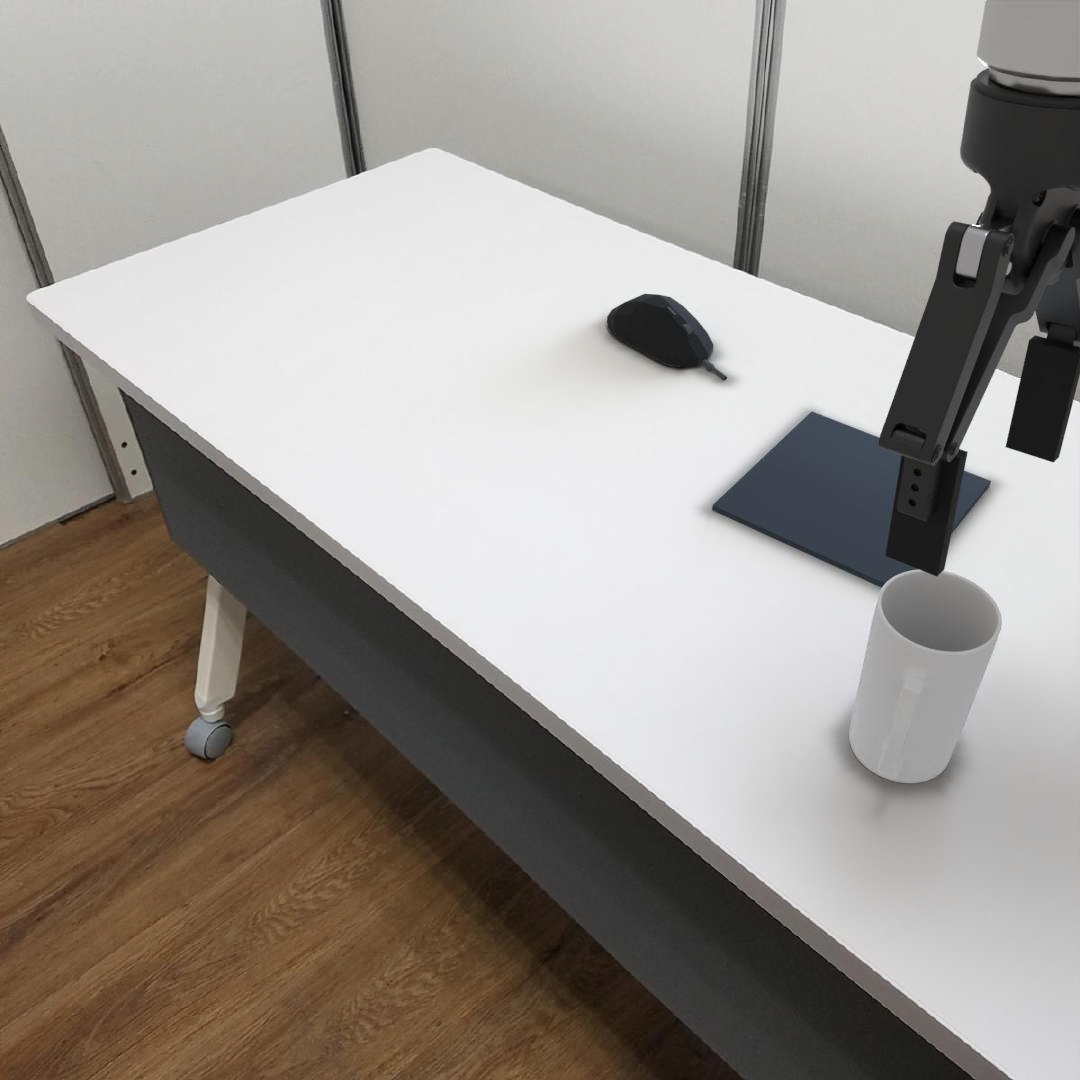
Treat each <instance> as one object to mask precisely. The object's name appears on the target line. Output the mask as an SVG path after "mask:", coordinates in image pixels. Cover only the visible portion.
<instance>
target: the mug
mask: <svg viewBox="0 0 1080 1080" xmlns="http://www.w3.org/2000/svg"><path fill="white" fill-rule="evenodd" d="M1002 624H1003V618H1002V613H1001V611H1000V608H999V606H998V604H997V602H996V601H995V600H994V597H992V596H991V595H990V593H988V591H986V590H985V589H984V588H983V587H981V586H980V585H979V584H977V583H975V581H973V580H970V579H969V578H967V577H964V576H962V575H960V574H957V573H954V572H952V571H951V572H950V571H946V570H943V571H942V572H941V573H940V574H939V575H938V576H934V575H932V574H929V573H927V572H924V571H922V570H911V571H907V572H904V573H901V574H898V575H896V576H894V577H893V578H891V579H890V580H888V581H887V582H886V583H885V584H884V586H883V587H880V590H879V593H878V596H877V600H876V604H875V608H874V612H873V616H872V620H871V625H870V629H869V634H868V639H867V642H866V643H867V644H866V648H865V652H864V658H863V663H862V667H861V672H860V677H859V681H858V686H857V690H856V694H855V699H854V703H853V709H852V715H851V720H850V724H849V730H848V741H849V744H850V747H851V750H852V752H853V754H854V755H855V757H856V759H857V760H858V761H859V762H860V763H861V764H862V765H863V766H864V767H865V768H867V769H868V771H870V772H872V773H874V774H875V775H877V776H879V777H881V778H883V779H884V780H885V779H886V780H889V781H891V782H894V783H895V782H896V783H902V784H919V783H924V782H928V781H930V780H933V779H935V778H936V777H938V776H939V775H941V774H942V773H943V772H944V770H945V769H946V768H947V766H948V764H949V763H950V760H951V758H952V757H953V754H954V751H955V749H956V747H957V745H958V742H959V739H960V737H961V734H962V731H963V729H964V726H965V724H966V721H967V719H968V716H969V714H970V711H971V708H972V705H973V703H974V700H975V698H976V696H977V693H978V691H979V688H980V686H981V683H982V682H983V678H984V675H985V673H986V672H987V671H986V670H987V668H988V665H989V663H990V660H991V658H992V655H993V652H994V650H995V648H996V644H997V641H998V639H999V635H1000V634H1001V630H1002V626H1003V625H1002Z"/></svg>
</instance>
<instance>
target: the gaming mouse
mask: <svg viewBox="0 0 1080 1080" xmlns="http://www.w3.org/2000/svg"><path fill="white" fill-rule="evenodd" d="M606 324H607V326H608V329H609V330H610V331H611V333H612V334H613V335H614V336H615V337H616V338H617V339H619V340H620V341H621V342H624V343H625V344H627V345H629V346H630V347H632V348H634V349H636V350H638V351H640V352H642V353H643V354H645V355H647V356H648V357H650V358H652V359H654V360H656V361H657V362H660V363H661V364H663V365H666V366H669V367H676V368H684V367H691V366H698V365H699V364H700V365H701V366H702V367H704V368H705V369H706V370H707V371H709V372H713V373H714V374H715V375H717V376H718V377H719V378H721V379H722V380H723V381H726V380H727V379H728V375H726V374H724V373H723V372H722V371H720V370H719V369H717V368H716V366H715V365H714V364H713V363H711V362H710V361H709V358H710V357H711V355H712V354H713V353H714V342H713V341H712V339H711V336H710V335H709V333H708V332H707V331H706V329H705V328H704V326H703V325H702V324H701V323H700V321H699V320H698V319H697V318H696V317H695V316H694V315H693V313H691V312H690V311H689V310H688V309H687V307H685V306H684V305H683V304H682V303H680V302H679V301H677V300H676V299H674V298H673V297H671V296H667V295H662V294H657V293H656V294H654V293H643V294H641V295H639V296H636V297H634V298H632V299H629V300H626V301H624V302H623V303H621V304H619V305H617V306H615V307H614V308H612V309H611V310H610V312H609V313H608V314H607V316H606Z"/></svg>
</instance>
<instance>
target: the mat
mask: <svg viewBox="0 0 1080 1080" xmlns="http://www.w3.org/2000/svg"><path fill="white" fill-rule="evenodd" d="M879 438H880V436H876V435H873V434H871V433H869V432H866V431H864V430H860V429H859V428H856V427H853V426H851V425H849V424H846V423H843V422H840V421H839V420H835V419H833V418H830V417H829V416H825V415H823V414H820V413H817V412H815V411H810V412H809V413H808V414H807V415H806V416H805V417H804V418H803V419H802V420H801V421H800V422H798V424H796V425H795V427H793V428H792V429H791V430H790V431H789V432H788V433H787V434H786V435H785V436H784V437H783V438H782V439H780V440H779V441H778V443H777V444H775V445H774V446H773V447H772V448H771V449H770V450H769V451H768V452H767V453H766V454H765V455H764V456H763V457H762V458H760V460H759V461H757V462H756V463H755V464H754V465H753V466H752V467H751V468H750V469H749V470H748V471H747V472H746V473H745V474H744V475H742V476H741V478H739V480H737V482H735V483H734V484H733V485H732V486H731V487H730V488H729V489H728V490H727V491H726V492H724V494H723V495H722V496H721V497H720V498H718V499H717V500H716V501H715V502H714V503H713V504H712V505H711V511H714V512H716V513H718V514H720V515H722V516H725V517H726V518H729V519H731V520H733V521H736V522H738V523H739V524H742V525H743V526H746V527H748V528H751V529H752V530H753V529H754V530H755V531H756V532H759V533H761V534H764V535H765V536H768V537H770V538H772V539H774V540H777V541H779V542H782V544H783V543H784V544H786V545H788V546H790V547H792V548H795V549H797V550H799V551H801V552H803V553H805V554H807V555H810V556H812V557H814V558H817V559H819V560H820V561H823V562H825V563H828V564H830V565H831V566H834V567H836V568H838V569H841V570H842V571H844V572H847V573H848V574H849V573H850V574H851V575H854V576H855V577H858V578H860V579H863V580H865V581H866V582H869V583H870V584H873V585H876V586H878V587H880V588H882V587H883V586H884V584H885V583H886V582H887V581H888V580H890V579H891V578H893V577H894V576H896V575H898V574H901V573H904V572H907V571H911V570H919V569H917V568H914V567H912V566H909V565H907V564H904V563H902V562H899V561H897V560H894V559H892V558H889V557H887V556H885V555H886V548H887V542H888V536H889V530H890V524H891V517H892V511H893V505H894V499H895V493H896V486H897V480H898V474H899V468H900V462H901V455H899V454H896V453H893V452H890V451H887V450H885V449H882V448H880V447H879ZM991 483H992V481H991V480H990V479H987V478H985V477H982V476H979V475H977V474H974V473H971V472H969V471H967V470H964V473H963V478H962V483H961V488H960V493H959V498H958V503H957V508H956V513H955V518H954V523H953V528H952V533H951V535H953V532H955V530H956V529H957V527H958V526H959V525H960V524H961V523H962V522H963V520H964V518H965V517H966V516H967V515H968V514H969V513H970V511H971V510H972V509H973V507H974V506H975V505H976V504H977V502H978V501H979V500H980V498H981V497H982V496H983V495H984V494H985V492H986V491H987V490H988V488H989V487H990V486H991Z"/></svg>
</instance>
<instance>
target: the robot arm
mask: <svg viewBox="0 0 1080 1080" xmlns="http://www.w3.org/2000/svg"><path fill="white" fill-rule="evenodd" d="M977 43H978V44H977V49H976V56H977V59H978V60H979V61H980V62H981V63H982V65H983V66H984V67H987V68H985V69H983V70H981V71H980V72H979V73H978V74H977V75H976V77H974V78H973V79H972V80H971V82H970V83H969V88H968V89H969V90H968V94H967V102H966V107H965V113H964V120H963V126H962V131H961V137H960V144H959V158H960V160H961V163H963V165H964V166H965V167H966V168H967V169H968V170H970V171H971V172H973V173H974V174H978V175H980V176H981V177H982V178H983V179H984V180H985V181H986V182H987V183H988V186H989V187H990V192H989V195H988V196H987V199H986V202H985V206H984V209H983V211H981V212H980V214H979V216H978V218H977V220H976V223H975V224H971V223H965V222H962V221H956V220H953V221H952V222H951V223H949V225H948V227H947V229H946V232H945V235H944V239H943V243H942V248H941V252H940V257H939V262H938V266H937V271H936V276H935V279H934V281H933V285H932V288H931V291H930V293H929V296H928V299H927V301H926V304H925V308H924V311H923V312H922V316H921V318H920V322H919V324H918V328H917V330H916V333H915V336H914V339H913V342H912V344H911V347H910V350H909V352H908V356H907V359H906V361H905V364H904V366H903V371H902V372H901V375H900V377H899V380H898V381H899V382H898V384H897V387H896V390H895V391H894V392H895V393H894V395H893V397H892V401H891V404H890V406H889V410H888V413H887V416H886V417H885V421H884V423H883V426H882V429H881V433H880V435H879V447H880V448H882V449H885V450H887V451H890V452H893V453H896V454H899V455H901V462H900V468H899V474H898V480H897V486H896V493H895V499H894V505H893V511H892V517H891V524H890V530H889V536H888V542H887V548H886V555H885V556H887V557H889V558H892V559H894V560H897V561H899V562H902V563H904V564H907V565H909V566H912V567H914V568H917V569H919V570H922V571H924V572H927V573H929V574H932V575H934V576H938V575H939V574H940V573H941V572H942V571H945V568H946V563H947V557H948V555H949V554H948V553H949V548H950V543H951V538H952V534H953V532H952V528H953V523H954V518H955V513H956V508H957V503H958V498H959V493H960V488H961V483H962V478H963V473H964V471H965V468H966V463H967V459H968V458H967V457H968V452H969V451H966V450H963V449H961V446H962V443H963V442H964V439H965V437H966V435H967V432H968V430H969V428H970V426H971V423H972V422H973V420H974V417H975V415H976V413H977V411H978V409H979V406H980V404H981V402H982V400H983V398H984V395H985V393H986V392H987V389H988V387H989V385H990V382H991V380H992V378H993V376H994V374H995V372H996V370H997V367H998V365H999V363H1000V361H1001V359H1002V358H1003V357H1002V356H1003V354H1004V352H1005V350H1006V348H1007V345H1008V344H1009V342H1010V339H1011V337H1012V335H1013V333H1014V331H1015V329H1016V327H1017V326H1018V325H1020V324H1023V323H1026V322H1028V321H1030V320H1031V319H1032V318H1033V316H1034V315H1035V316H1036V321H1037V325H1038V329H1039V332H1040V333H1043V334H1046V337H1043V336H1040V335H1036V334H1035V335H1034V336H1032V337H1031V338H1030V339H1028V343H1027V348H1026V352H1025V357H1024V361H1023V366H1022V370H1021V375H1020V379H1019V384H1018V388H1017V393H1016V398H1015V402H1014V407H1013V411H1012V417H1011V420H1010V425H1009V430H1008V434H1007V439H1006V443H1005V448H1007V449H1010V450H1013V451H1015V452H1019V453H1023V454H1025V455H1029V456H1032V457H1034V458H1038V459H1042V460H1045V461H1048V462H1050V463H1055V462H1056V461H1057V460H1058V459H1059V458H1060V456H1061V450H1062V447H1063V443H1064V440H1065V436H1066V435H1065V434H1066V431H1067V428H1068V423H1069V419H1070V416H1071V411H1072V408H1073V403H1074V400H1075V396H1076V391H1077V387H1078V385H1079V380H1080V0H984V8H983V15H982V20H981V25H980V32H979V37H978V42H977ZM951 533H952V534H951Z"/></svg>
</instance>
